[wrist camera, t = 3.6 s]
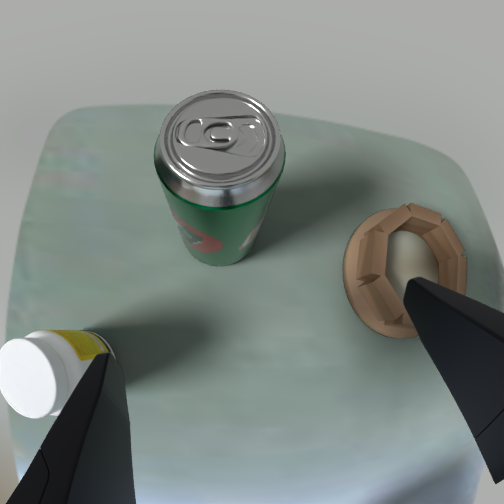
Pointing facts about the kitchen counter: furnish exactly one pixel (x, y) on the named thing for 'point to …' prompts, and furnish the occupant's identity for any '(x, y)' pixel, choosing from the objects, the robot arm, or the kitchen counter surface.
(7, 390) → the supplement bottle
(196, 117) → the soda can
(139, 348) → the kitchen counter surface
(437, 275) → the holder
